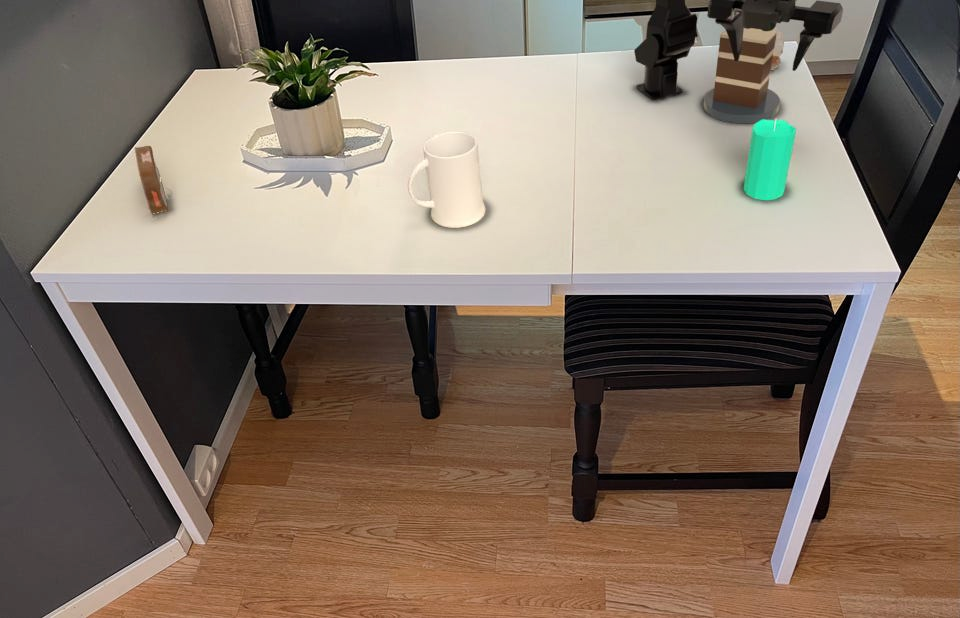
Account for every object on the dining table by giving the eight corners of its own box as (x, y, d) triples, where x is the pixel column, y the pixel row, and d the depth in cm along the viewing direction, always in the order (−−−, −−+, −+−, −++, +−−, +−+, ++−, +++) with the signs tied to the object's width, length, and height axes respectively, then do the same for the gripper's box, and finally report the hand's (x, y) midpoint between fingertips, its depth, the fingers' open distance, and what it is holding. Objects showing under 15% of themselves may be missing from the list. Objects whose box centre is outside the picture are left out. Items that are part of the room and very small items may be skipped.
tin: (146, 182, 139) (129, 139, 134) (164, 178, 140) (148, 135, 134) (154, 224, 128) (135, 179, 123) (174, 219, 129) (156, 174, 124)
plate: (689, 100, 146) (690, 93, 145) (749, 85, 149) (750, 77, 148) (730, 130, 136) (731, 122, 135) (794, 112, 139) (795, 104, 138)
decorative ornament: (766, 54, 158) (778, -23, 149) (787, 69, 152) (801, -10, 143) (730, 61, 157) (740, -16, 147) (750, 76, 151) (762, -3, 142)
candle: (786, 201, 118) (800, 128, 111) (744, 199, 120) (755, 127, 112) (782, 180, 123) (796, 109, 115) (742, 178, 124) (753, 108, 116)
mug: (422, 240, 118) (410, 170, 111) (404, 212, 125) (392, 144, 117) (494, 218, 121) (488, 149, 114) (473, 192, 127) (466, 125, 120)
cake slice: (712, 100, 142) (720, 34, 134) (723, 88, 145) (731, 24, 137) (756, 108, 138) (766, 41, 130) (766, 96, 141) (777, 30, 133)
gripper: (698, -28, 114) (688, 74, 124) (830, -13, 106) (809, 96, 116) (726, -51, 121) (715, 48, 131) (854, -38, 112) (831, 67, 122)
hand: (765, 65), depth 125 cm, fingers open, 9 cm apart
